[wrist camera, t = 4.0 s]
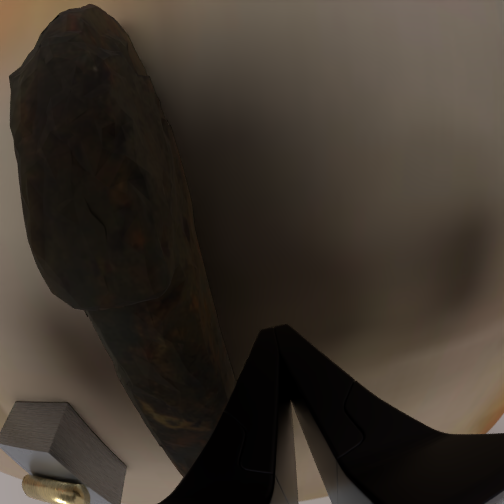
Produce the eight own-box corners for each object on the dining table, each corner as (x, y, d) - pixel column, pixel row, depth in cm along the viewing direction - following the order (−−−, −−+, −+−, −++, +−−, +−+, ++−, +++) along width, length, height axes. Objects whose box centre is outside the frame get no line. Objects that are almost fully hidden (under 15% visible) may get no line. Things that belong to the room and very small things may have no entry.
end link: (67, 402, 11) (39, 478, 7) (126, 466, 14) (116, 530, 10) (15, 401, 11) (-14, 463, 7) (74, 463, 14) (60, 518, 10)
